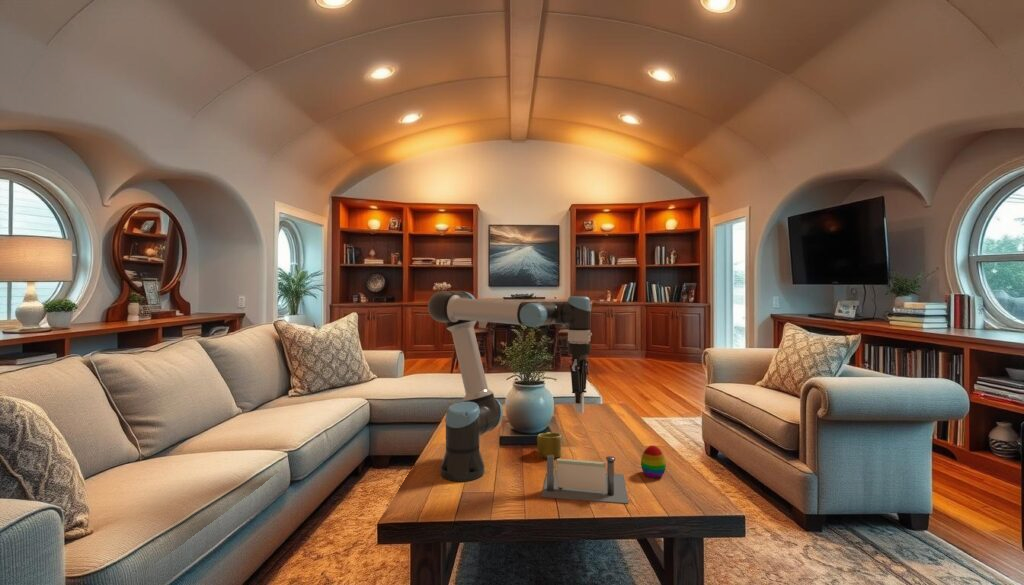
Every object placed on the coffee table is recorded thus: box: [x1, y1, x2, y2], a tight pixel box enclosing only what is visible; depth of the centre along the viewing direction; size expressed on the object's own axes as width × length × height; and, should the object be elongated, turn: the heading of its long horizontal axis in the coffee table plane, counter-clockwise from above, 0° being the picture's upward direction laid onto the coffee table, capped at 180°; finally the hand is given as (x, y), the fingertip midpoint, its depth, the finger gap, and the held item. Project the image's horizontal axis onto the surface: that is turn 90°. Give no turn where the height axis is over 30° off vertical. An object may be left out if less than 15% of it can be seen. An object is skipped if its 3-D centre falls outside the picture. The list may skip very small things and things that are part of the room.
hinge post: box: [605, 456, 616, 496], centre depth 143 cm, size 3×3×12 cm
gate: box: [556, 458, 606, 492], centre depth 145 cm, size 15×2×9 cm, turn 77°
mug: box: [536, 431, 563, 459], centre depth 179 cm, size 12×10×10 cm
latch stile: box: [546, 455, 557, 491], centre depth 147 cm, size 3×3×11 cm
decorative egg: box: [640, 445, 667, 479], centre depth 160 cm, size 8×8×10 cm
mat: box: [540, 469, 629, 505], centre depth 151 cm, size 26×22×1 cm
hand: (579, 412), depth 156 cm, fingers closed
